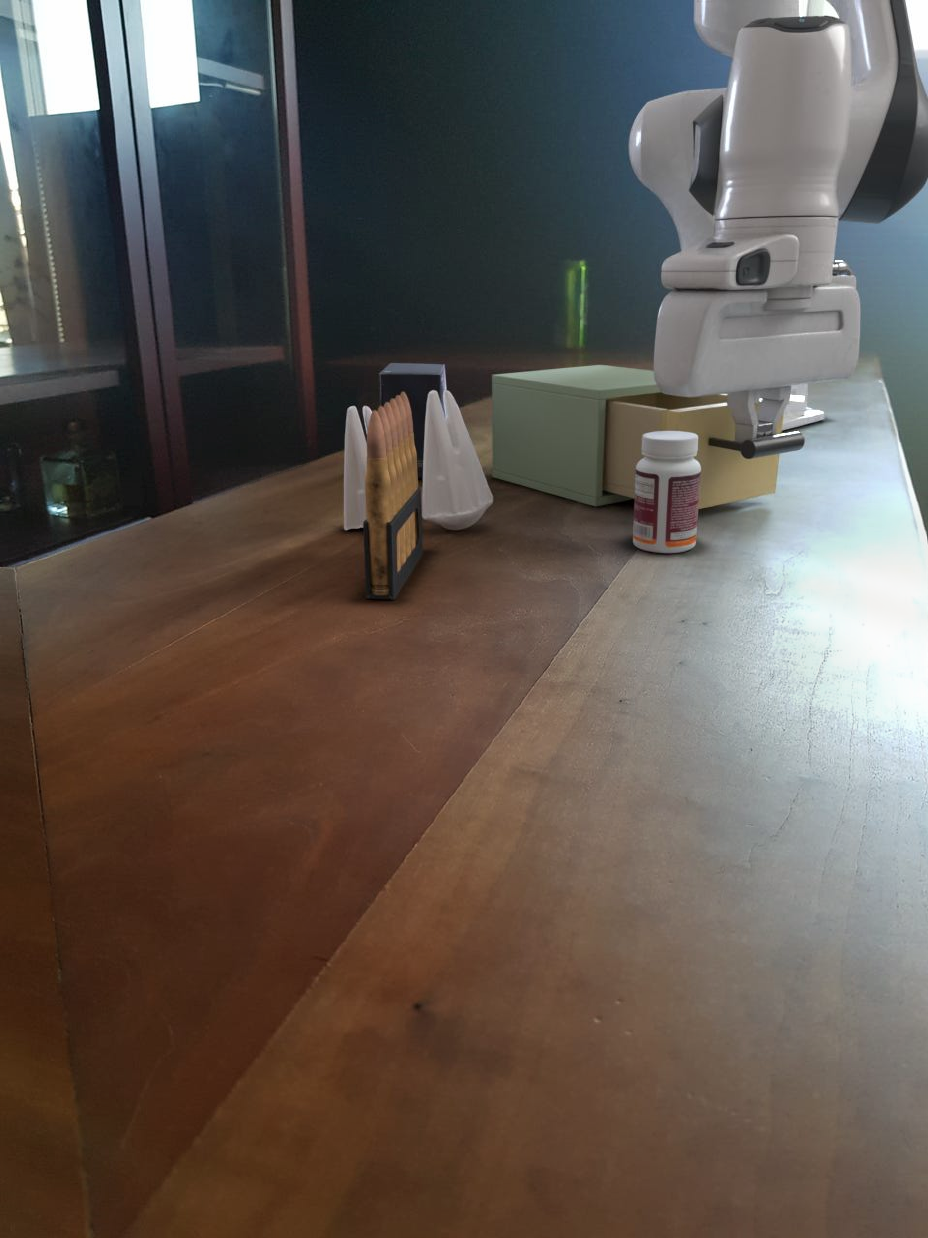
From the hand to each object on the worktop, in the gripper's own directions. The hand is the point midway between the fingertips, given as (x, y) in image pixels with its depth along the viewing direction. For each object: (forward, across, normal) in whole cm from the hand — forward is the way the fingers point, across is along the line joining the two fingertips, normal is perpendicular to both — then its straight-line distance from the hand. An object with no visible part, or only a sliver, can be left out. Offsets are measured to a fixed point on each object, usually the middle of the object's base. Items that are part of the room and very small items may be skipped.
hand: (754, 444), depth 76 cm
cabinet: (+6, 0, -19) cm, 20 cm away
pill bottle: (+6, +11, +1) cm, 13 cm away
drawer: (+5, 0, -7) cm, 9 cm away
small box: (+6, +11, -35) cm, 37 cm away
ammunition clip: (+6, +31, -5) cm, 32 cm away
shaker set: (+6, +23, -15) cm, 28 cm away
